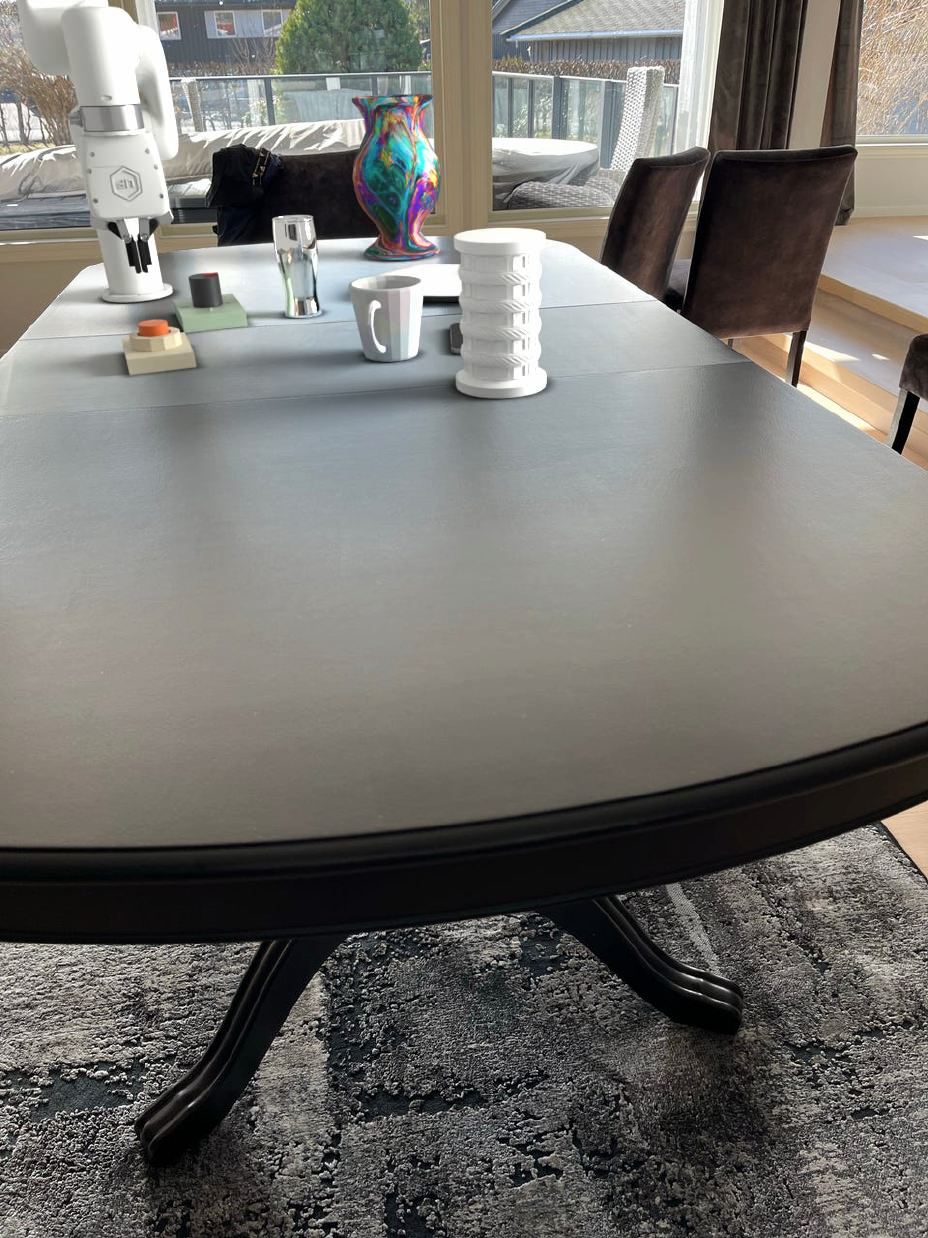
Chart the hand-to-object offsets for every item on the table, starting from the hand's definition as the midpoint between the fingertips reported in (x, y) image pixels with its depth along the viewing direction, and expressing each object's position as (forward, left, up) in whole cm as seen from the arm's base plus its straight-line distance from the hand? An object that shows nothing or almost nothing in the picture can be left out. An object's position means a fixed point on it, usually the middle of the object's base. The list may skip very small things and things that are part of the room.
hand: (141, 271), depth 130 cm
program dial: (-21, +10, -10) cm, 25 cm away
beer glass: (-18, +25, -12) cm, 33 cm away
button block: (+1, 0, -12) cm, 12 cm away
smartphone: (+11, +45, -12) cm, 48 cm away
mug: (+15, +30, -12) cm, 36 cm away
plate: (-25, +52, -12) cm, 59 cm away
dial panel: (-21, +10, -12) cm, 27 cm away
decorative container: (+33, +40, -12) cm, 53 cm away
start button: (+1, 0, -9) cm, 9 cm away
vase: (-63, +56, -12) cm, 85 cm away
